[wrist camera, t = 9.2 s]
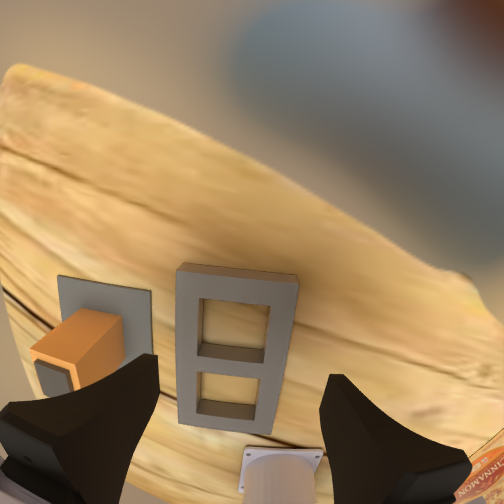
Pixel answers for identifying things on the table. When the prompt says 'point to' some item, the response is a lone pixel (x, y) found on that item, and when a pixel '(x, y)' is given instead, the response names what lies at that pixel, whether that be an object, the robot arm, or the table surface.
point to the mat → (112, 309)
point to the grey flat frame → (227, 357)
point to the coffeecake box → (485, 474)
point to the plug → (79, 352)
